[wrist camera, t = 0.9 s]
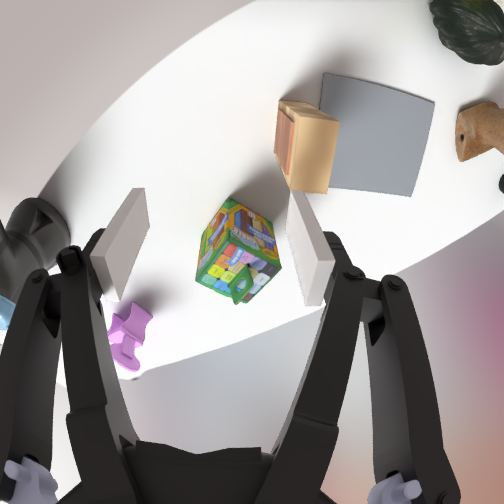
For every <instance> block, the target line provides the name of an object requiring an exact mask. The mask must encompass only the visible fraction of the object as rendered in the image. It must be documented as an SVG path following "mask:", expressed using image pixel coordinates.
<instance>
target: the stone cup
mask: <svg viewBox="0 0 504 504" xmlns="http://www.w3.org/2000/svg"><path fill="white" fill-rule="evenodd" d="M455 134H456V148H457V149H456V151H457V155H458V159H459V161H460V162H464V161H466V160H469V159H471V158H473V157H476V156H478V155H479V154H482V153H484V152H486V151H488V150H490V149H492V148H494V147H495V148H496V149H497V150H499V151H500V152H501V153H502V154H503V155H504V108H503V109H499V107H498V105H497V104H496V103H493V102H484V103H481V104H479V105H476V106H473V107H471V108H469V109H466V110H464V111H462V112H460V113H459V114H458V119H457V123H456V131H455Z"/></svg>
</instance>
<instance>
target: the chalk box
mask: <svg viewBox="0 0 504 504" xmlns="http://www.w3.org/2000/svg"><path fill="white" fill-rule="evenodd" d="M281 269H282V267H281V264H280V259H279V255H278V250H277V245H276V240H275V235H274V231H273V226H272V223H271V222H269V221H267V220H266V219H264V218H262V217H261V216H259V215H258V214H256V213H254V212H253V211H251V210H249V209H248V208H246V207H244V206H242V205H241V204H239V203H237V202H236V201H234V200H232V199H230V198H228V199H227V200H226V201H225V203H224V204H223V206H222V207H221V208H220V210H219V211H218V213H217V214H216V215H215V217H214V218H213V220H212V221H211V223H210V224H209V226H208V227H207V228H206V230H205V231H204V233H203V235H202V238H201V244H200V251H199V258H198V265H197V272H196V279H195V281H196V282H198V283H200V284H202V285H204V286H206V287H208V288H210V289H213V290H214V291H216V292H218V293H220V294H222V295H224V296H227V297H231V298H232V299H233V302H234V304H235V305H237V304H238V303H239V302H243V303H248V302H249V301H250V300H251V299H252V298H253V297H254V296H255V295H256V294H257V293H258V292H259V291H260V290H261V289H262V288H263V287H264V286H265V285H266V284H267V283H268V282H269V281H270V280H271V279H272V278H273V277H274V276H275V275H276V274H277V273H278V272H279V271H280V270H281Z"/></svg>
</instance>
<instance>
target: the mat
mask: <svg viewBox="0 0 504 504" xmlns="http://www.w3.org/2000/svg"><path fill="white" fill-rule="evenodd" d="M434 106H435V104H434V103H431V102H429V101H426V100H423V99H420V98H418V97H415V96H412V95H409V94H406V93H403V92H400V91H397V90H393V89H390V88H387V87H383V86H380V85H376V84H372V83H368V82H364V81H360V80H356V79H352V78H347V77H343V76H338V75H333V74H327V73H324V77H323V86H322V94H321V102H320V111H322V112H324V113H326V114H327V115H329V116H331V117H332V118H334V119H336V120H337V121H339V122H340V124H339V130H338V136H337V142H336V148H335V154H334V159H333V164H332V170H331V175H330V180H329V185H328V187H329V188H340V189H351V190H360V191H369V192H378V193H386V194H393V195H401V196H408V197H411V195H412V192H413V189H414V186H415V183H416V179H417V176H418V173H419V169H420V165H421V162H422V158H423V154H424V151H425V147H426V143H427V139H428V134H429V130H430V125H431V121H432V116H433V111H434Z"/></svg>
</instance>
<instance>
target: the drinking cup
mask: <svg viewBox="0 0 504 504" xmlns="http://www.w3.org/2000/svg"><path fill="white" fill-rule="evenodd" d="M499 189H500V191H501V192H502V193H504V174H503V175H502V177H501V178H500V181H499Z"/></svg>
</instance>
